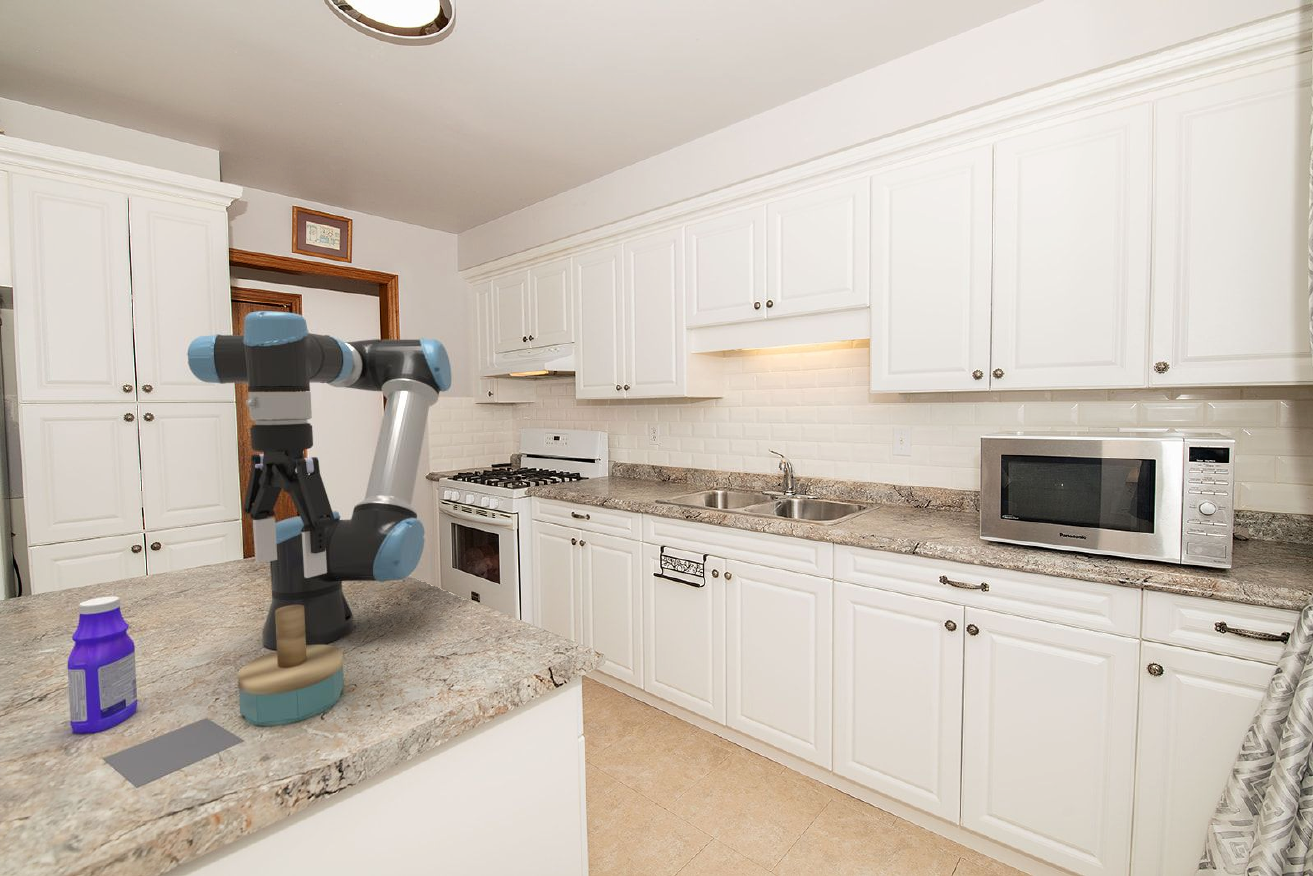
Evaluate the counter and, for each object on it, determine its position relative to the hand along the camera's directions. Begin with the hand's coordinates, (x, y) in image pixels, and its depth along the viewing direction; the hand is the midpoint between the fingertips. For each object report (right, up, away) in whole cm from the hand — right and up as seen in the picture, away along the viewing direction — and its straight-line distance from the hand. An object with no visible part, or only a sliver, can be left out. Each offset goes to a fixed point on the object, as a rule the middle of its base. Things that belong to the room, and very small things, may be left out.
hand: (290, 568), depth 86 cm
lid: (0, -15, 0) cm, 15 cm away
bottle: (-23, -21, -4) cm, 32 cm away
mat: (-8, -21, -11) cm, 25 cm away
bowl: (0, -20, +1) cm, 20 cm away
